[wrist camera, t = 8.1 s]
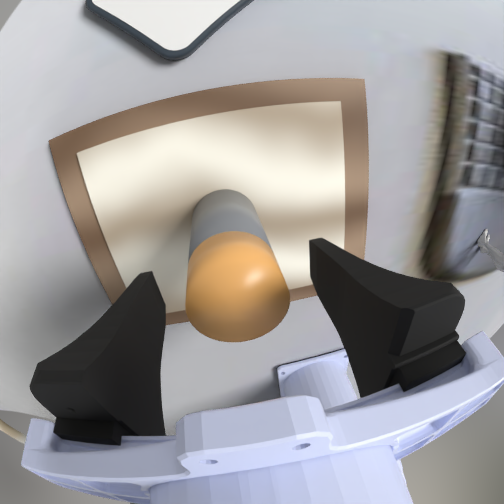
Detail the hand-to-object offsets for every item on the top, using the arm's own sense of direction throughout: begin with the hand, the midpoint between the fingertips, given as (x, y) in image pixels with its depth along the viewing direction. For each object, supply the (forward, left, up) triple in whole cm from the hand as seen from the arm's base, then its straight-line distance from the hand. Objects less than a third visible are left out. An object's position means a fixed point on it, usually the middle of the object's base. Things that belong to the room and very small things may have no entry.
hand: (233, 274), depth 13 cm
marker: (0, 0, -6) cm, 6 cm away
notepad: (0, 0, -7) cm, 7 cm away
